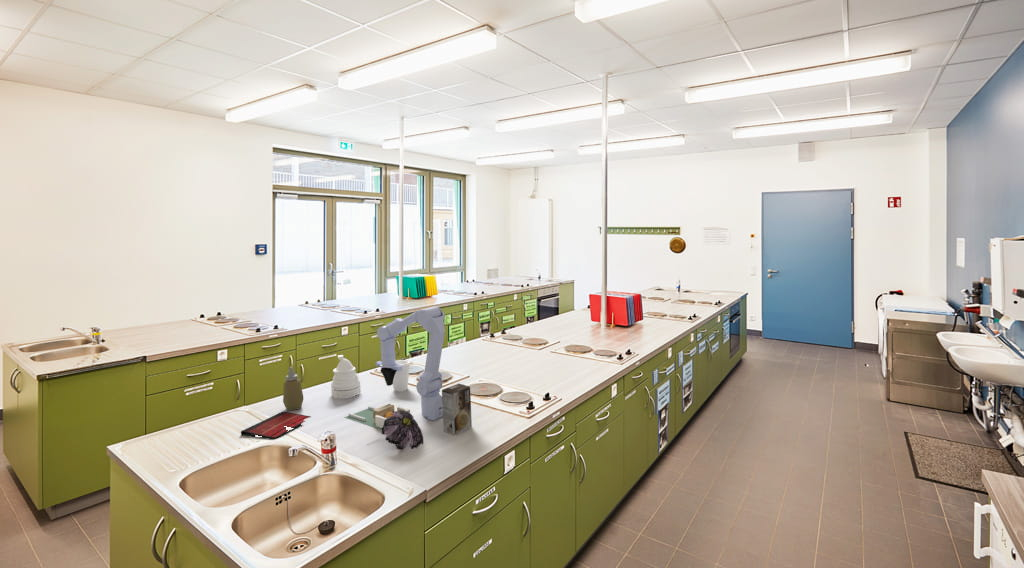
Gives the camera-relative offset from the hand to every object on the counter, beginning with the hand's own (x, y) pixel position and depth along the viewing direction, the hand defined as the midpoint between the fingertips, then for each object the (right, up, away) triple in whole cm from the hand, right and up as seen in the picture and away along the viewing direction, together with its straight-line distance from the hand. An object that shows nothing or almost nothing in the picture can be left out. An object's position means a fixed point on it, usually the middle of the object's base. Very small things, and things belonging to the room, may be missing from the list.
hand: (389, 384), depth 204 cm
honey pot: (-25, -8, +19) cm, 32 cm away
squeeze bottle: (-41, -11, +1) cm, 43 cm away
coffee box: (+32, -12, -25) cm, 42 cm away
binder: (-38, -13, -18) cm, 44 cm away
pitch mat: (-1, -11, -14) cm, 18 cm away
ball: (+5, -9, -19) cm, 21 cm away
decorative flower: (+14, -13, -36) cm, 41 cm away
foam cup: (-1, -7, +24) cm, 25 cm away
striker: (+2, -10, -16) cm, 19 cm away
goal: (+7, -11, -19) cm, 23 cm away
